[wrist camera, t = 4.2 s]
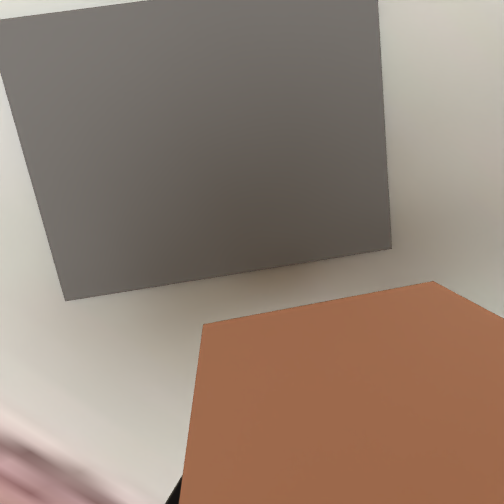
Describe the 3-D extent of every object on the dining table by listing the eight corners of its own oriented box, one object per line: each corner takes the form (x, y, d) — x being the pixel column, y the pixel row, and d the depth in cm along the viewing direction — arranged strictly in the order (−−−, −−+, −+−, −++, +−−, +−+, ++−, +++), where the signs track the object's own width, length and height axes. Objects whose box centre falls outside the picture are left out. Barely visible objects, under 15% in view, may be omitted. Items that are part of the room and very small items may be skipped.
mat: (373, -26, 15) (376, -30, 15) (389, 247, 18) (391, 248, 18) (-10, 24, 15) (-15, 21, 14) (68, 299, 17) (65, 301, 17)
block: (433, 281, 8) (787, 468, 3) (443, 471, 9) (708, 835, 4) (202, 324, 8) (165, 602, 3) (243, 512, 9) (268, 945, 4)
